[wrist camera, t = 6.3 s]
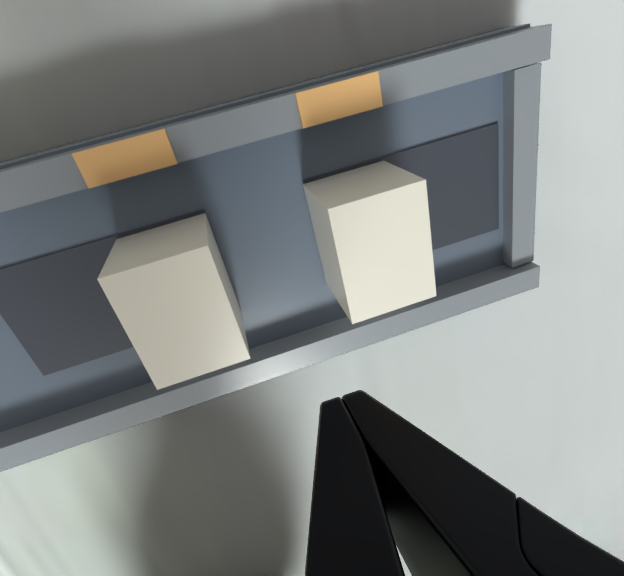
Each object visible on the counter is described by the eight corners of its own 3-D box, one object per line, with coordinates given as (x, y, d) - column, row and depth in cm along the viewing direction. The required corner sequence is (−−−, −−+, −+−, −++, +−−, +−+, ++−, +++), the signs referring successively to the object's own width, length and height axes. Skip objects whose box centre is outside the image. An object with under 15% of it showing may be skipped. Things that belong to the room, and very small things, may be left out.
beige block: (397, 260, 17) (436, 295, 14) (326, 283, 17) (352, 324, 14) (383, 160, 15) (426, 179, 12) (302, 184, 15) (327, 209, 12)
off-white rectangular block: (241, 310, 16) (250, 358, 13) (163, 335, 16) (157, 389, 13) (205, 212, 14) (207, 245, 11) (116, 239, 14) (96, 279, 11)
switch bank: (505, 268, 20) (540, 289, 18) (-223, 512, 17) (-281, 573, 15) (507, 27, 15) (554, 19, 13) (-521, 301, 12) (-669, 348, 10)
